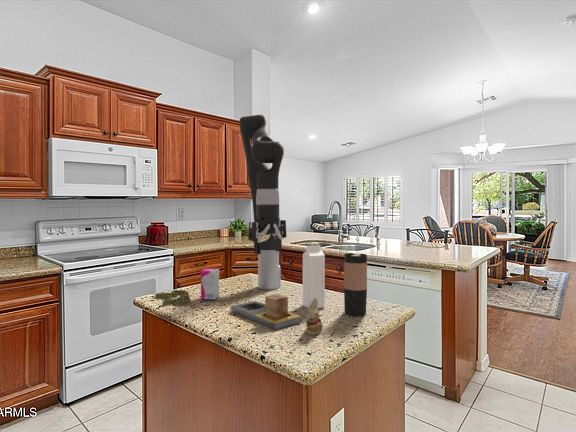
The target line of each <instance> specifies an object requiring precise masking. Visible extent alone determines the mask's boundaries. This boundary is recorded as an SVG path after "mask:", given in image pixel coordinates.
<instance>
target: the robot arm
mask: <svg viewBox="0 0 576 432" xmlns="http://www.w3.org/2000/svg"><path fill="white" fill-rule="evenodd" d="M238 121H239V130H240V132H239V133H240V136H241V141H242V145H243V151H244V155H245V161H246V169H247V177H248V183H249V188H250V194H251V202H252V211H253V214H252V215H253V221H249V222H248V234H247V235H248V236H247V238H248V241H251V242H253V252H254V254H255V255H257V258H258V259H257V261H258V262H257V270H258V271H257V275H258V276H257V288H258V289H260V290H266V291H267V290H268V291H269V290H270V291H271V290H278V289H279V288H281V282H282V281H281V279H282V277H281V275H282V273H281V272H282V271H281V265H280V252H282V247H283V245H282V240H284V239H285V238H287V235H288V234H287V222H286V220H284V219H281V217H280V193H279V174H280V169H281V165H282V161H283V159H284V153H285V149H284V145H283V144H282V143H281V142H279V141H276V140H275V141H274V140H273V138H272V136H271V132H270V127H269V123H268V120H267V118H266V116H265V115H263V114H255V115H247V116H241V117H240V119H239V120H238ZM268 164H272V165H271V167H270V168H269V166H268ZM266 235H267V236H268V235H269V237H268V238H267V239H265V240H263V238H264V237H265V236H266ZM262 240H263V241H262Z"/></svg>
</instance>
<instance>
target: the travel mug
mask: <svg viewBox="0 0 576 432" xmlns="http://www.w3.org/2000/svg"><path fill="white" fill-rule="evenodd" d="M343 262H344V269H343V270H344V271H343V272H344V273H343V275H344V279H343V295H344V296H343V297H344V300H343V301H344V313H345V315H348V316H351V317H362V316H365V315H366V314H367V298H368V296H367V295H368V255H367V254H366V253H360V254H356V253H355V254H354V253H353V252H351V253H344V261H343Z"/></svg>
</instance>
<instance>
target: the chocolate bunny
mask: <svg viewBox="0 0 576 432" xmlns="http://www.w3.org/2000/svg"><path fill="white" fill-rule="evenodd" d="M319 313H320V312H319V308H318V300H317V298H314V299H313V301H312V303H311V305H310V306H309V308H306V312H305V323H306V324H305V325H306V330H305V332H306V334H307V335H308V334H309V335H308V336H318V335H319V333H320V334H322V332H321V331H323V323H322V318H320V315H319ZM317 334H318V335H317Z"/></svg>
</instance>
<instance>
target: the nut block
mask: <svg viewBox="0 0 576 432" xmlns="http://www.w3.org/2000/svg"><path fill="white" fill-rule="evenodd" d="M264 298H265V301H264V304H265V316H266V317H269V318H271V319H274V320H277V319H280V318H284V317H288V312H289V296H286V295H283V294H280V293H276V294H270V295H266V296H265V297H264Z"/></svg>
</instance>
